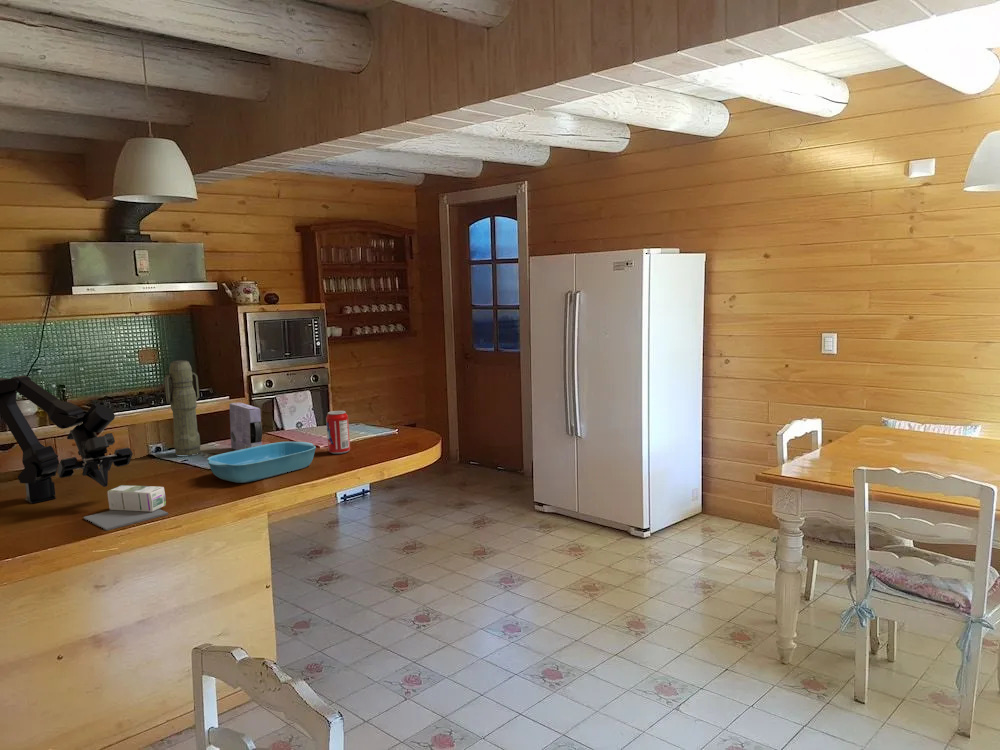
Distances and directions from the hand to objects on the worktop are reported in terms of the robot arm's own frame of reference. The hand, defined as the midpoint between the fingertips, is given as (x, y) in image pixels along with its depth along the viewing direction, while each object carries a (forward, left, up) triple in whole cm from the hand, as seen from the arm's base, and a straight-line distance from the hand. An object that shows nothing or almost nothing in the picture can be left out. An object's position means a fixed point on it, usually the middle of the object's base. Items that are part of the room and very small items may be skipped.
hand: (105, 485), depth 208 cm
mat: (0, -12, -7) cm, 13 cm away
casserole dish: (+49, 0, -7) cm, 50 cm away
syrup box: (+2, -2, -3) cm, 4 cm away
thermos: (+46, +48, -7) cm, 67 cm away
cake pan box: (+61, +32, -7) cm, 69 cm away
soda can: (+80, +1, -7) cm, 80 cm away
